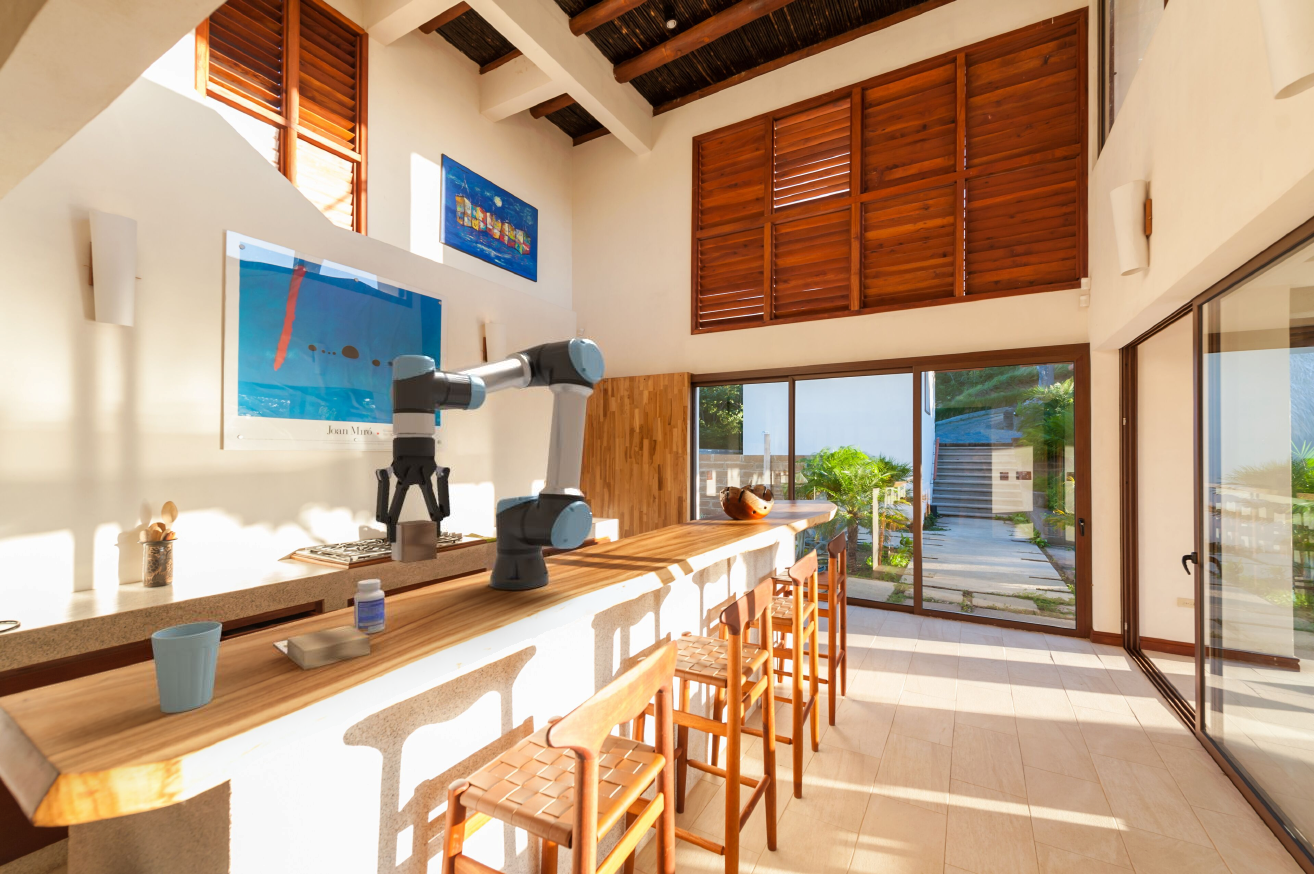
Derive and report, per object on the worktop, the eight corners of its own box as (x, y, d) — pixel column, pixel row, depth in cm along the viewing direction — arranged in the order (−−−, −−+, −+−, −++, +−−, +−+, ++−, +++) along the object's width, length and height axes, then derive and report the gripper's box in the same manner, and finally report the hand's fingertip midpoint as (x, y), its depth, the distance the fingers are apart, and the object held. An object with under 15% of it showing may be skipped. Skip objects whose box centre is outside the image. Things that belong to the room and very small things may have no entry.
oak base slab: (349, 641, 107) (349, 624, 107) (369, 653, 100) (369, 636, 100) (287, 655, 99) (287, 638, 99) (304, 670, 92) (304, 651, 92)
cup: (134, 715, 77) (135, 636, 77) (190, 691, 85) (191, 620, 85) (182, 719, 76) (183, 639, 76) (234, 694, 83) (235, 622, 84)
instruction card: (333, 631, 113) (333, 629, 113) (347, 639, 107) (347, 638, 107) (273, 644, 105) (273, 642, 105) (285, 654, 100) (285, 652, 100)
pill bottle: (390, 628, 114) (390, 579, 114) (365, 636, 109) (364, 585, 109) (374, 625, 117) (374, 576, 117) (348, 632, 112) (348, 582, 112)
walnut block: (423, 555, 114) (423, 519, 114) (436, 558, 110) (436, 522, 110) (392, 559, 110) (392, 522, 110) (405, 563, 105) (405, 525, 106)
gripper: (451, 437, 120) (452, 548, 119) (354, 436, 106) (354, 562, 105) (469, 436, 115) (470, 552, 114) (369, 435, 101) (369, 567, 100)
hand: (414, 557), depth 110 cm, fingers closed on walnut block, 6 cm apart
